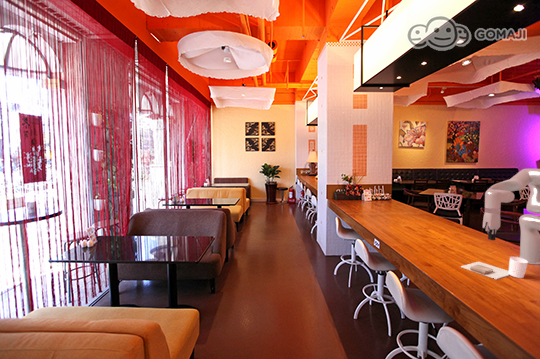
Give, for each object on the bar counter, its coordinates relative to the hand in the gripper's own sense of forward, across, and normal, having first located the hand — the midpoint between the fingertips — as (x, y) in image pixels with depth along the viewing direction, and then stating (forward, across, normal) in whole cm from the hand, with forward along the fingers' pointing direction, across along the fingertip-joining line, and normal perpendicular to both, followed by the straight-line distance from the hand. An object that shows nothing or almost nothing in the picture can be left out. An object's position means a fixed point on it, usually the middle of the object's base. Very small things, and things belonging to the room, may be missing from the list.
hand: (491, 239), depth 167 cm
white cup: (+19, -2, +12) cm, 22 cm away
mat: (+19, +4, 0) cm, 20 cm away
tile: (+18, +5, 0) cm, 18 cm away
